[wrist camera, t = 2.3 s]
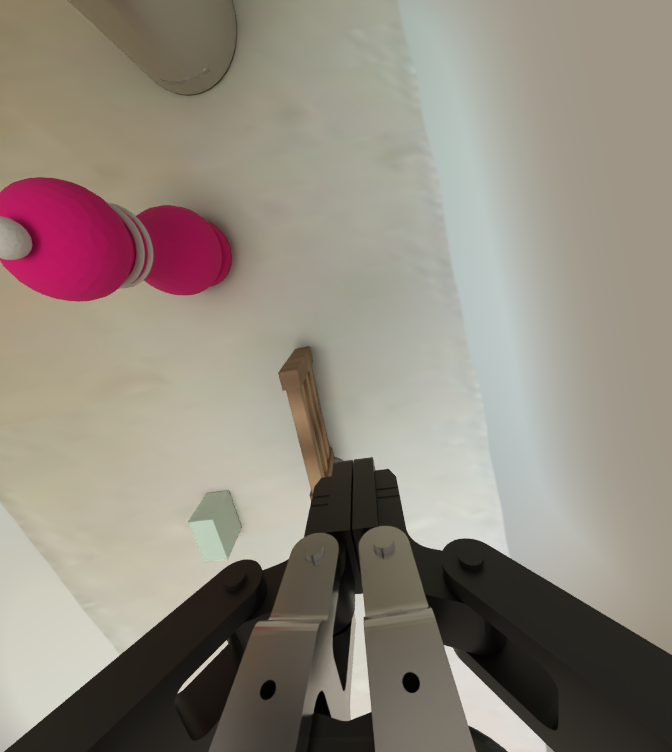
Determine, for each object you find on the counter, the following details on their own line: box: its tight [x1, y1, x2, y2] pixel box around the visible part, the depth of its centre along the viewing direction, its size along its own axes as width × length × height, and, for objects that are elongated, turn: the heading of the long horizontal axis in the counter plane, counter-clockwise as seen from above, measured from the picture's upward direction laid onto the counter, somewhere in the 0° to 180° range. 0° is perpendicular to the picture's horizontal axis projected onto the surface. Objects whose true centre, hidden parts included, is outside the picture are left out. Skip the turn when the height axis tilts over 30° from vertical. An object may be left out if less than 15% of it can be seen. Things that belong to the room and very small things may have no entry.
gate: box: [278, 347, 334, 500], centre depth 32 cm, size 14×2×8 cm, turn 11°
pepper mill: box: [0, 177, 231, 301], centre depth 23 cm, size 7×7×20 cm
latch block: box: [188, 490, 242, 562], centre depth 40 cm, size 6×3×5 cm, turn 11°
